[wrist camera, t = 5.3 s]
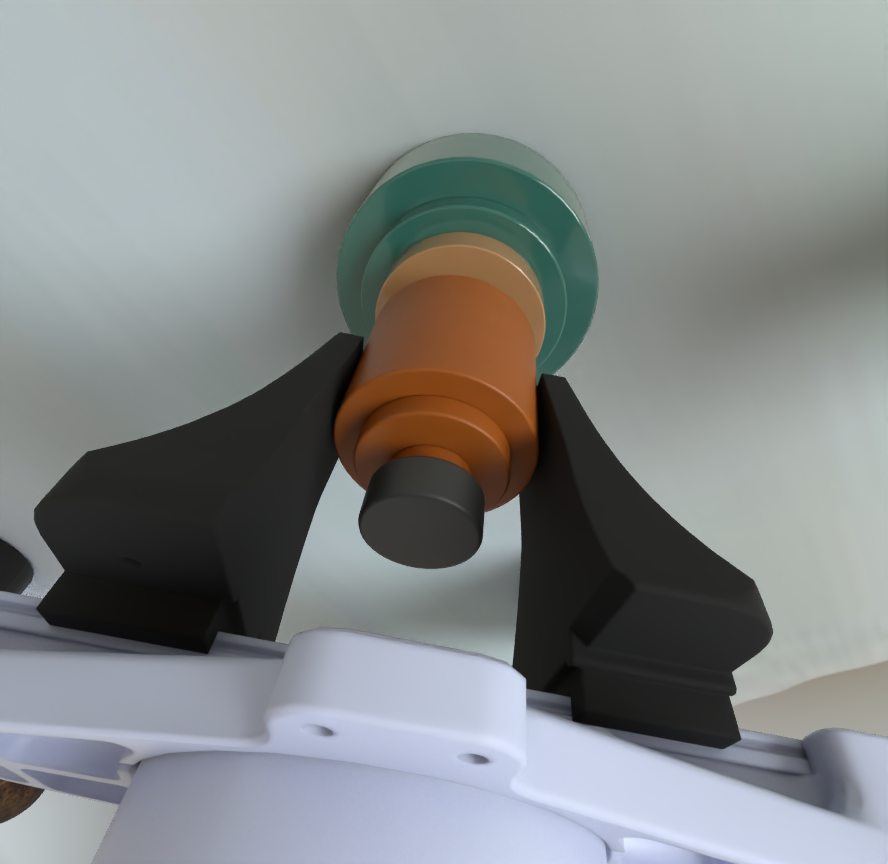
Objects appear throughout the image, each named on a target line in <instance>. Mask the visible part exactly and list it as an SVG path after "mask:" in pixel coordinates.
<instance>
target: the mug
mask: <svg viewBox="0 0 888 864" xmlns="http://www.w3.org/2000/svg"><path fill="white" fill-rule="evenodd" d="M32 577H33V569H32V567H31V565H30V564H29V562H28V561H27V560H26V559H25V558H24V557H23V556H22V555H21V554H20V553H19V552H18V551H16V550H15V549H14V548H12V547H11V546H9V545H8V544H6V543H5V542H3V541H2V540H0V591H4V592H9V593H15V594H20V595H21V593H22V592H23V591H24V590H25V589H26V587H27V586H28V585H29V584H30V582H31V581H32Z"/></svg>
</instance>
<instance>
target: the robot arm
mask: <svg viewBox="0 0 888 864" xmlns="http://www.w3.org/2000/svg"><path fill="white" fill-rule="evenodd" d="M363 345H364V337H362V336H357V335H352V334H347V333H342V332H340V333H339V334H337V335H336V336H334V337H333V338H332V339H330V340H329V341H328V342H327V343H325V344H324V345H323V346H322V347H321V348H319V349H318V350H317V351H315V352H314V353H313V354H312V355H310V356H309V357H308V358H306V359H305V360H304V361H302V362H301V363H300V364H298V365H297V366H295V367H294V368H293V369H291V370H290V371H289V372H287V373H286V374H284V375H283V376H281V377H280V378H278V379H277V380H275V381H273V382H272V383H270V384H269V385H267V386H266V387H264V388H263V389H261V390H259V391H257V392H256V393H254V394H252V395H250V396H248V397H246V398H244V399H243V400H241V401H239V402H237V403H235V404H233V405H231V406H228V407H226V408H224V409H222V410H219V411H217V412H215V413H212V414H210V415H207V416H205V417H203V418H200V419H198V420H195V421H193V422H190V423H188V424H185V425H182V426H179V427H176V428H173V429H171V430H167V431H164V432H161V433H158V434H155V435H151V436H148V437H145V438H141V439H138V440H134V441H130V442H126V443H122V444H118V445H114V446H110V447H105V448H101V449H97V450H93V451H88V452H87V453H85V454H84V455H83V456H82V457H81V458H80V459H79V460H78V461H77V462H76V463H75V464H74V465H73V466H72V467H71V468H70V469H69V471H68V472H67V473H66V474H65V475H64V476H63V477H62V478H61V479H60V481H59V482H58V483H57V484H56V485H55V486H54V487H53V488H52V489H51V490H50V492H49V493H48V494H47V495H46V496H45V497H44V498H43V499H42V500H41V501H40V503H39V504H38V505H37V507H36V508H35V509H34V521H35V524H36V526H37V528H38V530H39V532H40V535H41V536H42V538H43V539H44V541H45V542H46V543H47V545H48V546H49V548H50V549H51V551H52V552H53V554H54V555H55V557H56V558H57V560H58V561H59V562H60V564H61V565H62V567H63V568H64V570H65V571H64V573H63V574H62V575H61V576H60V578H59V579H58V580H57V582H56V583H55V584H54V585H53V587H52V588H51V589H50V591H49V592H48V593H47V595H46V596H45V597H44V598H43V599H41V598H36V597H31V596H25V595H20V594H15V593H9V592H4V591H0V779H2V780H6V781H11V782H15V783H20V784H24V785H28V786H33V787H37V788H41V789H46V790H50V791H55V792H59V793H63V794H68V795H72V796H77V797H82V798H86V799H90V800H94V801H99V802H103V803H107V804H112V805H117V806H119V807H118V809H117V812H116V814H115V816H114V818H113V820H112V822H111V824H110V826H109V828H108V830H107V832H106V834H105V836H104V838H103V840H102V842H101V844H100V846H99V849H98V851H97V853H96V855H95V857H94V859H93V861H92V863H91V864H888V737H886V736H881V735H876V734H870V733H864V732H859V731H854V730H849V729H843V728H826V729H821V730H818V731H815V732H812V733H811V734H809V735H808V736H806V737H804V738H803V740H798V739H793V738H787V737H782V736H777V735H772V734H766V733H761V732H755V731H750V730H744V729H739V728H738V725H737V722H736V718H735V715H734V711H733V708H732V704H731V701H730V697H729V696H733V695H735V694H736V690H737V688H736V685H735V682H734V678H733V675H732V672H733V671H734V670H735V669H737V668H738V667H740V666H741V665H743V664H744V663H745V662H747V661H748V660H750V659H751V658H752V657H754V656H755V655H757V654H758V653H759V652H760V651H761V650H762V649H764V648H765V647H766V646H767V645H768V643H769V642H770V640H771V637H772V635H773V629H772V624H771V621H770V619H769V616H768V613H767V611H766V608H765V606H764V603H763V600H762V598H761V596H760V593H759V591H758V588H757V586H756V584H755V582H754V580H753V579H751V578H750V577H748V576H747V575H746V574H744V573H743V572H741V571H740V570H739V569H737V568H736V567H734V566H733V565H732V564H730V563H729V562H727V561H726V560H725V559H723V558H722V557H720V556H719V555H717V554H716V553H715V552H713V551H712V550H711V549H709V548H708V547H707V546H706V545H704V544H703V543H702V542H701V541H699V540H698V539H697V538H696V537H695V536H693V535H692V534H691V533H690V532H688V531H687V530H686V529H685V528H684V527H683V526H681V525H680V524H679V523H678V522H677V521H676V520H675V519H673V518H672V517H671V516H670V515H669V514H668V513H667V512H666V511H665V510H664V509H663V508H662V507H661V506H660V505H659V504H658V503H657V502H655V501H654V500H653V499H652V498H651V497H650V496H649V494H648V493H647V492H646V491H645V490H644V489H643V488H642V487H641V486H640V485H639V484H638V483H637V481H636V480H635V479H634V478H633V477H632V476H631V475H630V474H629V472H628V471H627V470H626V469H625V468H624V467H623V465H622V464H621V463H620V462H619V460H618V459H617V458H616V456H615V455H614V454H613V452H612V451H611V450H610V448H609V447H608V446H607V444H606V443H605V441H604V440H603V439H602V437H601V436H600V434H599V433H598V431H597V430H596V428H595V427H594V425H593V424H592V422H591V420H590V419H589V417H588V416H587V414H586V412H585V411H584V409H583V407H582V406H581V404H580V402H579V400H578V399H577V397H576V395H575V394H574V392H573V390H572V388H571V387H570V385H569V383H568V382H567V380H566V378H564V377H559V376H555V375H550V374H545V373H542V374H541V377H540V379H539V382H538V385H537V406H538V433H539V458H538V464H537V467H536V470H535V472H534V474H533V476H532V478H531V480H530V482H529V483H528V484H527V485H526V487H525V488H524V489H523V490H522V491H521V492H520V493H519V497H520V516H521V539H522V551H521V568H520V585H519V598H518V612H517V624H516V635H515V646H514V657H513V666H510V665H509V664H508V663H507V662H505V661H502V660H499V659H496V658H492V657H489V656H486V655H483V654H479V653H474V652H469V651H463V650H458V649H453V648H447V647H442V646H437V645H431V644H426V643H421V642H415V641H410V640H405V639H399V638H394V637H389V636H383V635H378V634H373V633H367V632H362V631H357V630H351V629H343V628H328V627H319V628H315V629H311V630H308V631H304V632H301V633H298V634H296V635H294V636H293V638H292V640H291V642H290V643H289V645H288V644H283V643H278V642H275V640H276V637H277V633H278V630H279V626H280V622H281V619H282V615H283V612H284V608H285V605H286V602H287V598H288V595H289V592H290V588H291V585H292V582H293V578H294V575H295V572H296V568H297V565H298V562H299V559H300V556H301V553H302V549H303V546H304V543H305V540H306V537H307V534H308V531H309V528H310V525H311V522H312V519H313V516H314V513H315V510H316V507H317V505H318V502H319V500H320V497H321V495H322V493H323V490H324V488H325V486H326V484H327V482H328V480H329V477H330V475H331V473H332V471H333V469H334V466H335V464H336V462H337V460H338V458H339V457H338V454H337V451H336V447H335V443H334V434H333V430H334V421H335V418H336V415H337V412H338V409H339V407H340V405H341V402H342V400H343V398H344V395H345V393H346V391H347V388H348V386H349V384H350V381H351V379H352V377H353V374H354V372H355V369H356V367H357V365H358V362H359V360H360V358H361V355H362V353H363Z"/></svg>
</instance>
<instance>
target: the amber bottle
mask: <svg viewBox="0 0 888 864" xmlns="http://www.w3.org/2000/svg"><path fill="white" fill-rule="evenodd" d="M333 434H334V443H335V447H336V451H337V454H338V457H339V459H340V461H341V463H342V465H343V466H344V468H345V470H346V471H347V472H348V474H349V475H350V476H351V477H352V479H353V480H354V481H355V482H356V483H358V484H359V485H360V486H361V487H362V488H363V489H364V490H366V494H365V497H364V500H363V504H362V507H361V510H360V514H359V518H358V524H359V529H360V533H361V535H362V537H363V539H364V540H365V542H366V543H367V544H368V545H369V546H370V547H371V548H372V549H373V550H374V551H376V552H377V553H378V554H380V555H382V556H383V557H385V558H387V559H389V560H391V561H394V562H396V563H399V564H402V565H406V566H410V567H415V568H424V569H439V568H447V567H451V566H455V565H458V564H461V563H463V562H465V561H467V560H468V559H470V558H471V557H472V556H473V555H474V554H475V553H476V552H477V550H478V549H479V547H480V545H481V543H482V539H483V525H484V513H485V512H488V511H491V510H493V509H496V508H498V507H500V506H502V505H504V504H506V503H507V502H509V501H510V500H512V499H513V498H515V497H516V496H517V495H518V494H519V493H520V492H521V491H522V490H523V489H524V488H525V487H526V485H527V484H528V483H529V482H530V480H531V478H532V476H533V474H534V472H535V470H536V467H537V464H538V458H539V433H538V406H537V380H536V354H535V339H534V335H533V331H532V328H531V325H530V323H529V321H528V319H527V317H526V315H525V314H524V312H523V311H522V310H521V308H520V307H519V306H518V304H517V303H516V302H515V301H514V300H513V299H512V298H511V297H509V296H508V295H507V294H505V293H504V292H503V291H501V290H500V289H498V288H496V287H495V286H493V285H491V284H489V283H486V282H484V281H482V280H479V279H475V278H471V277H467V276H460V275H440V276H432V277H428V278H424V279H421V280H418V281H416V282H413V283H411V284H409V285H407V286H406V287H404V288H402V289H401V290H400V291H398V292H397V293H396V294H394V295H393V296H392V297H391V298H390V299H389V301H388V302H387V303H386V304H385V306H384V307H383V308H382V310H381V312H380V314H379V316H378V318H377V320H376V323H375V325H374V327H373V330H372V332H371V334H370V337H369V339H368V341H367V344H366V346H365V348H364V351H363V353H362V355H361V358H360V360H359V362H358V365H357V367H356V369H355V372H354V374H353V377H352V379H351V381H350V384H349V386H348V388H347V391H346V393H345V395H344V398H343V400H342V402H341V405H340V407H339V409H338V412H337V415H336V418H335V421H334V430H333Z"/></svg>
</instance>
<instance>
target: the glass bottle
mask: <svg viewBox="0 0 888 864" xmlns="http://www.w3.org/2000/svg"><path fill="white" fill-rule="evenodd" d="M44 790H45V789H41V788H37V787H33V786H28V785H24V784H20V783H15V782H11V781H6V780H2V779H0V823H3V822H5V821H8V820H10V819H11V818H14V817H15V816H17V815H19V814H20V813H22V812H23V811H24V810H26V809H27V808H29V807H30V806H31V805H32V804H33V803H34V802H35V801H36V800H37V799H38V798H39V797H40V795H41V794H42V793H43V791H44Z"/></svg>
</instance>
